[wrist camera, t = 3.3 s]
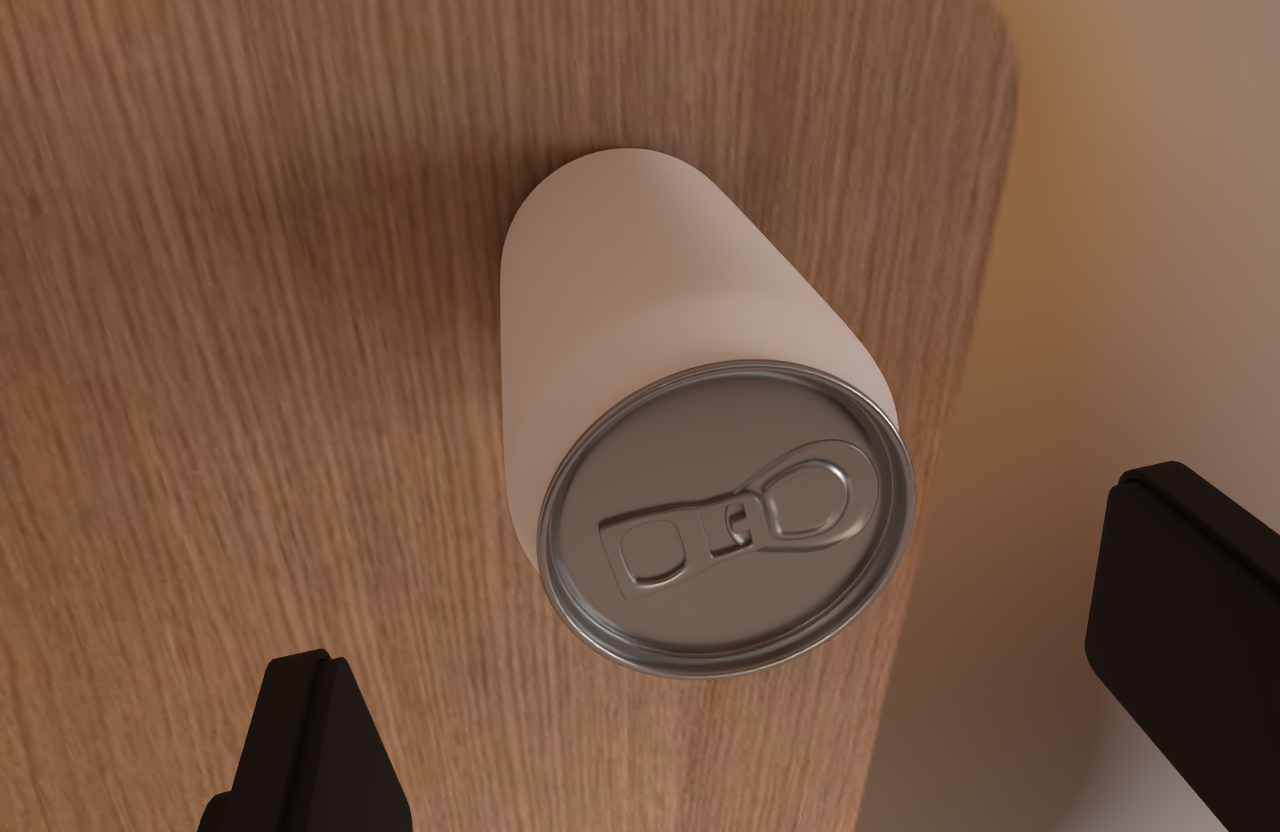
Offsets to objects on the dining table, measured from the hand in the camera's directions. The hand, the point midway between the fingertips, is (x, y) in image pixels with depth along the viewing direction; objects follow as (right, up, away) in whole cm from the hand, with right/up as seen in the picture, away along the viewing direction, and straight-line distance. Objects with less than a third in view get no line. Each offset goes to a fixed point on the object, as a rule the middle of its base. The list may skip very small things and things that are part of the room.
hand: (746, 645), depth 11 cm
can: (-2, +7, +13) cm, 14 cm away
